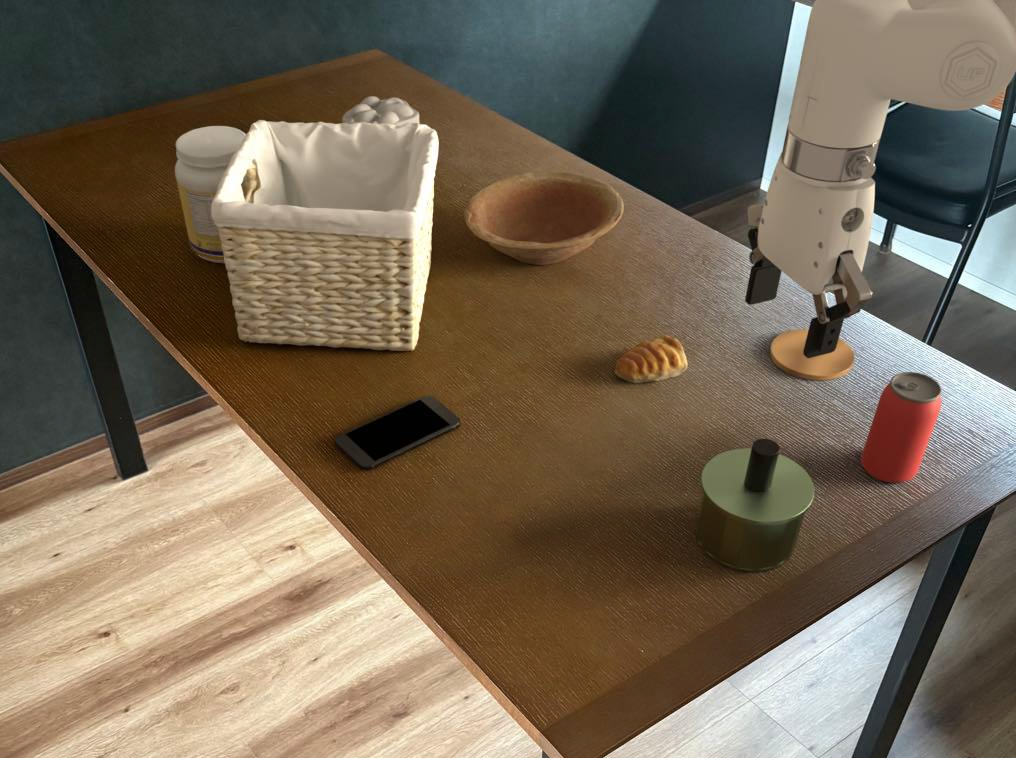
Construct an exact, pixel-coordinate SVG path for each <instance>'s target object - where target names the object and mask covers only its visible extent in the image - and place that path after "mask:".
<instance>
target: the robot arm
mask: <svg viewBox="0 0 1016 758" xmlns="http://www.w3.org/2000/svg"><path fill="white" fill-rule="evenodd" d="M810 9H811V10H810V14H809V17H808V22H807V26H806V30H805V36H804V41H803V46H802V51H801V57H800V61H799V66H798V67H799V68H798V71H797V77H796V82H795V86H794V91H793V97H792V102H791V107H790V111H789V117H788V122H787V126H786V131H785V136H784V141H783V146H782V150H781V153H780V155H779V157H778V159H777V162H776V164H775V167H774V169H773V173H772V175H771V178H770V183H769V185H768V189H767V192H766V195H765V198H764V202H763V203H756V204H752V205H748V207H747V218H748V227H749V228H750V229H749V230H748V232H747V238H748V241H749V245H750V248H751V252H749V254H748V259H749V263H750V264H751V265H752V266H750V273H749V278H748V283H747V287H746V293H745V298H744V302H745V303H746V304H747V305H749V306H752V305H756V304H757V305H758V304H760V303H765V302H770V301H773V300H775V299H776V298H777V294H778V290H779V285H780V282H781V281H780V280H781V276H782V273H783V274H785V275H786V276H787V277H788V278H790V279H791V280H792V281H793V282H794V283H796V284H797V285H798V286H799V287H801V288H802V289H803V290H805V291H806V292H808V293H809V294H811V295H812V299H813V303H814V308H815V313H816V316H815V317H812V318H811V320H810V322H809V326H808V329H809V330H808V334H807V338H806V342H805V346H804V351H803V354H804V355H805V356H806V357H807V358H812V357H816V356H820V355H824V354H828V353H832V352H833V351H835V349H836V346H837V343H838V339H839V338H840V335H841V331H842V329H843V328H842V327H843V325H844V320H845V319H849V318H851V316H854V315H856V314H859V313H860V312H861V311H862V308H863V307H864V306H866V304H867V303H868V302H869V301H870V300H871V298H872V296H873V291H872V289H871V287H870V286H869V284H868V281H867V280H866V277H865V276H864V274H863V268H864V265H865V261H866V257H867V252H868V248H869V242H870V237H871V231H872V226H873V220H874V219H873V216H874V212H875V211H874V210H875V197H876V181H875V180H874V178H873V175H874V174H875V172H876V169H877V166H876V164H875V161H876V157H877V153H878V149H879V145H880V141H881V138H882V133H883V130H884V126H885V122H886V119H887V115H888V111H889V107H890V103H891V100H892V101H898V102H903V103H908V104H912V105H917V106H921V107H926V108H930V109H934V110H940V111H952V112H957V111H966V110H972V109H975V108H978V107H981V106H983V105H986V104H987V103H989V102H991V101H993V100H994V99H995V98H997V97H998V96H999V95H1001V94H1002V92H1003V91H1005V90H1006V88H1008V86H1009V85H1010V83H1011V82H1012V80H1013V78H1014V76H1015V74H1016V0H815V1H814V3H813V4H812V7H811V8H810ZM831 280H832V283H829V282H830V281H831ZM832 292H833V294H834V295H833V296H834V299H835V304H834V305H832V306H829V302H828V301H829V300H828V296H827V294H828V293H832Z"/></svg>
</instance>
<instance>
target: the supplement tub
mask: <svg viewBox="0 0 1016 758" xmlns="http://www.w3.org/2000/svg"><path fill="white" fill-rule="evenodd" d="M246 134H247V133H245V132H244V131H242V130H241V129H238V128H236V127H231V126H227V125H210V126H204V127H203V126H202V127H199V128H195V129H191V130H189V131H187V132H185V133H183V134H181V135H180V136H179V137H178V138H177V140H176V141H175V149H176V150H175V151H176V152H175V153H176V155H175V156H176V158H177V160H176V163H175V165H174V176H175V180H176V183H177V184H176V185H177V190H178V194H179V198H180V204H181V209H182V212H183V213H182V214H183V217H184V222H185V228H186V232H187V237H188V242H190V243H189V245H190V244H191V246H192V247H193V248H194V249H195V250H197V251H199V252H201V253H203V254H207V255H211V256H217V257H225V256H224V254H223V250H222V242H221V240H220V237H219V230H218V226H216V225H215V224H214V221H213V219H212V216H211V204H212V201H213V199H214V197H215V195H216V193H217V190H218V185H219V183H220V181H221V179H222V176H223V174H224V172H225V171H226V169H227V167H228V166H229V163H230V160H231V158H232V156H233V155H234V154H235V153H236V152H237V150H238V149H239V146H240V145H241V143H242V141H243V139H244V137H245V135H246ZM241 186H242V190H243V195H244V198H245V197H246V195H247V191H248V190H249V188H248V183H247V182H246V177H245V176H244V178H243V182H242V183H241ZM191 246H190V247H191ZM194 254H195V255H196V256H198V258H201V259H202V260H205V261H207V262H212V263H215V264H225V262H224V260H214V259H209V258H205V257H202V256H200V255H197V254H196V253H194Z"/></svg>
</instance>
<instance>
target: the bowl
mask: <svg viewBox="0 0 1016 758" xmlns="http://www.w3.org/2000/svg"><path fill="white" fill-rule="evenodd" d="M624 209H625V204H624V201H623V199H622V197H621V194H620V193H619V192H618V191H617V190H616V189H615V188H613V187H612V186H611V185H609V184H608V183H606V182H605V181H602V180H600V179H597V178H595V177H592V176H589V175H586V174H580V173H575V172H569V171H568V172H566V171H531V172H522V173H519V174H514V175H512V176H508V177H503V178H501V179H499V180H496V181H493V182H491V183H490V184H489V183H488V184H487V185H485V186H484V187H482V188H481V189H479V190H477V192H476V193H474V195H473V196H471V198H470V199H469V201H468V203H467V205H466V206H465V209H464V213H463V216H464V221H465V224H466V225H467V227H468V229H469V230H470V231H471V232H472V233H473V234H474V235H475V236H476V237H477V238H479V239H481V240H482V241H483V242H486V243H488V245H490V247H492V248H493V249H495V250H496V251H498V252H500V253H502V254H503V255H506V256H508V257H511V258H512V259H515V260H516V261H519V262H521V263H525V264H529V265H534V266H545V265H546V266H547V265H552V264H556V263H559V262H561V261H565V260H566V259H568V258H570V257H572V256H575V255H578V254H579V253H581V252H583V251H584V250H587V249H588V248H590V247H591V246H592V245H593V244H594V242H595V241H597V239H599V238H600V237H603V236H604V235H606V234H607V233H609V232H610V231H611V230H612V229H613V228H614V227H615V226H616V225H617V224H618V223H619V222H620V220H621V219H622V216H623V214H624V211H625V210H624Z"/></svg>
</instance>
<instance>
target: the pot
mask: <svg viewBox="0 0 1016 758" xmlns="http://www.w3.org/2000/svg"><path fill="white" fill-rule="evenodd" d="M805 514H806V512H805V513H804V514H803V515H802V516H800V517H799V518H797V519H795V520H793V521H790V522H787V523H783V524H778V525H756V524H750V523H745V522H742V521H739V520H736V519H733V518H731V517H729V516H727V515H725V514H723V513H722V512H720V511H719V510H717V509H716V508H715V507H714V506H713V505H712V504H711V503H710V502H709V501H708V500H707V498H706V497H705V495H704V493H703V491H702V493H701V499H700V503H699V508H698V513H697V519H696V529H695V538H696V541H697V543H698V546H699V548H700V549H701V550H702V552H703V553H704V554H705V555H706V556H707V557H708V558H709V559H711V560H712V561H714V562H715V563H717V564H718V565H721V566H722V567H725V568H727V569H730V570H733V571H737V572H744V573H764V572H768V571H769V572H770V571H773V570H776V569H777V568H779V567H781V566H783V565H784V564H786V563H787V561H788V560H790V558H791V557H792V555H793V553H794V550H795V548H796V546H797V543H798V539H799V536H800V531H801V528H802V524H803V521H804V519H805V518H804V517H805Z"/></svg>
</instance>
